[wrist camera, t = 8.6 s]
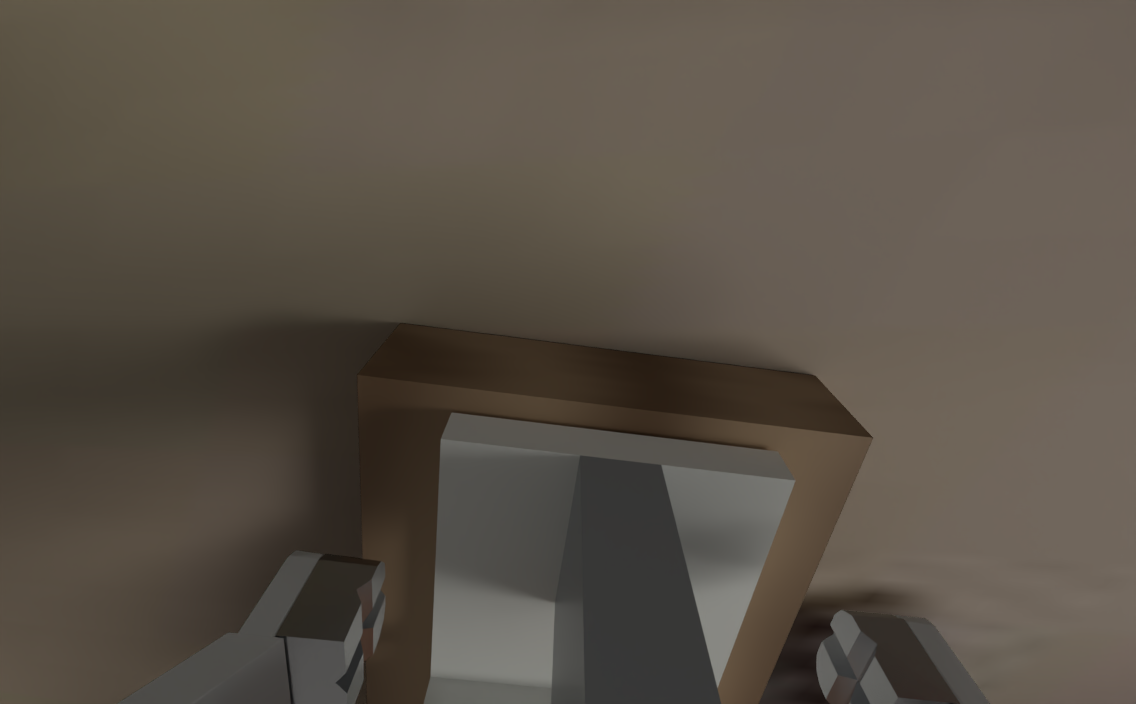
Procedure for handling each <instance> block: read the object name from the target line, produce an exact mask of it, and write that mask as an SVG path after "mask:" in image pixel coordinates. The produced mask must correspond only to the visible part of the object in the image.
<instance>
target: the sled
mask: <svg viewBox="0 0 1136 704" xmlns="http://www.w3.org/2000/svg"><path fill="white" fill-rule="evenodd" d="M795 481H796V480H795V479H794V477H793V476H792V474H791V472H790V471H789V469H788V467H787V466H786V464H785V462H784V461H783V459H782V457H781V456H780V454H779V453H778V451H769V450H761V449H753V448H744V447H736V446H728V445H719V444H711V443H703V442H694V441H686V440H677V439H669V438H661V437H652V436H644V435H636V434H627V433H619V432H611V431H602V430H594V429H586V428H577V427H569V426H561V425H552V424H544V423H536V422H527V421H519V420H510V419H502V418H494V417H485V416H477V415H469V414H460V413H451V415H450V418H449V420H448V423H447V425H446V427H445V430H444V432H443V435H442V437H441V444H440V468H439V491H438V514H437V537H436V560H435V583H434V607H433V630H432V653H431V676H430V681H429V684H428V688H427V692H426V696H425V700H424V704H721V701H720V697H719V693H718V689H717V688H718V686H719V683H720V680H721V678H722V675H723V672H724V670H725V667H726V664H727V662H728V659H729V656H730V654H731V651H732V648H733V646H734V643H735V640H736V638H737V635H738V632H739V630H740V627H741V624H742V622H743V619H744V616H745V614H746V611H747V608H748V606H749V603H750V601H751V598H752V595H753V593H754V590H755V587H756V585H757V582H758V579H759V577H760V574H761V571H762V569H763V566H764V563H765V561H766V558H767V555H768V553H769V550H770V547H771V545H772V542H773V539H774V537H775V534H776V531H777V529H778V526H779V523H780V521H781V518H782V516H783V513H784V510H785V508H786V505H787V502H788V500H789V497H790V494H791V492H792V489H793V486H794V484H795Z"/></svg>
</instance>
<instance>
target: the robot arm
mask: <svg viewBox="0 0 1136 704" xmlns="http://www.w3.org/2000/svg"><path fill="white" fill-rule="evenodd" d="M384 579H385V563H384V562H382V561H376V560H369V559H362V558H354V557H347V556H339V555H332V554H321V553H313V552H305V551H298V550H296V551H294V552H293V553H292V554H291V555H290V556H288V557H287V558H286V560H285V562H284V563H283V565H282V566H281V568H280V569H279V571H278V572H277V574H276V575H275V577H274V578H273V580H272V581H271V583H270V584H269V586H268V588H267V589H266V591H265V592H264V594H263V595H262V597H261V598H260V600H259V601H258V603H257V604H256V606H255V607H254V609H253V610H252V612H251V613H250V615H249V617H248V618H247V620H246V621H245V623H244V624H243V626H242V627H241V629H240V630H239V632H238V633H226V634H225V635H223V636H222V637H220V638H219V639H217V640H216V641H214V642H212V643H211V644H209V645H208V646H206V647H205V648H203V649H202V650H200V651H198V652H197V653H195V654H194V655H192V656H191V657H189V658H187V659H186V660H184V661H183V662H181V663H180V664H178V665H177V666H175V667H173V668H172V669H170V670H169V671H167V672H166V673H164V674H163V675H161V676H159V677H158V678H156V679H155V680H153V681H152V682H150V683H148V684H147V685H145V686H144V687H142V688H141V689H139V690H138V691H136V692H134V693H133V694H131V695H130V696H128V697H127V698H125V699H124V700H122V701H120V702H119V703H117V704H355V702H356V699H357V697H358V694H359V691H360V689H361V686H362V683H363V681H364V663H363V662H365V661H366V660H367V659H368V658H369V657H371V656H372V655H373V654H374V651H375V648H376V646H377V643H378V640H379V637H380V633H381V629H382V625H383V621H384V613H385V595H384V594H383V592H382V591H381V590H380V589H381V587H382V584H383V582H384ZM830 625H831V627H832V629H833V631H834V634H833V635H831V636H830V637H828V638H827V639H825V640H823V641H822V643H821V645H820V648H819V650H818V653H817V675H818V679H819V684H820V686H821V689H822V691H823V694H824V696H825V699H826V700H827V701H828V702H829V703H830V704H990V703H989V702H988V700H987V699H986V697H985V696H984V695H983V693H982V692H981V690H980V689H979V688H978V686H977V685H976V683H975V682H974V681H973V679H972V678H971V676H970V675H969V674H968V672H967V671H966V669H965V668H964V667H963V665H962V664H961V662H960V661H959V660H958V658H957V657H956V655H955V654H954V653H953V651H952V650H951V648H950V647H949V646H948V644H947V643H946V641H945V640H944V639H943V637H942V636H941V634H940V633H939V631H938V630H937V629H936V627H935V626H934V625H933V624H932V623H931V622H929V621H928V620H927V619H925V618H919V617H909V616H899V615H896V616H894V615H891V614H881V613H870V612H860V611H849V610H841V611H839V612H838V613H836V614H835V616H834V618H833V620H832V622H831V624H830Z"/></svg>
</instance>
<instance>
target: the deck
mask: <svg viewBox="0 0 1136 704" xmlns="http://www.w3.org/2000/svg"><path fill="white" fill-rule="evenodd" d="M357 390H358V423H359V456H360V489H361V522H362V555H363V559H369V560H376V561H382V562H384V563H385V579H384V582H383V584H382V587H381V589H380V590H381V591H382V592H383V594H384V595H385V613H384V621H383V625H382V629H381V633H380V637H379V640H378V643H377V646H376V648H375V651H374V654H373V655H372V656H371V657H369V658H368V659H367V660H366V687H367V704H424V700H425V696H426V692H427V688H428V684H429V681H430V676H431V653H432V630H433V607H434V583H435V560H436V537H437V514H438V491H439V468H440V444H441V437H442V435H443V432H444V430H445V427H446V425H447V423H448V420H449V418H450V415H451V413H460V414H469V415H477V416H485V417H494V418H502V419H510V420H519V421H527V422H536V423H544V424H552V425H561V426H569V427H577V428H586V429H594V430H602V431H611V432H619V433H627V434H636V435H644V436H652V437H661V438H669V439H677V440H686V441H694V442H703V443H711V444H719V445H728V446H736V447H744V448H753V449H761V450H769V451H778V453H779V454H780V456H781V457H782V459H783V461H784V462H785V464H786V466H787V467H788V469H789V471H790V472H791V474H792V476H793V477H794V479H795V480H796V481H795V484H794V486H793V489H792V492H791V494H790V497H789V500H788V502H787V505H786V508H785V510H784V513H783V516H782V518H781V521H780V523H779V526H778V529H777V531H776V534H775V537H774V539H773V542H772V545H771V547H770V550H769V553H768V555H767V558H766V561H765V563H764V566H763V569H762V571H761V574H760V577H759V579H758V582H757V585H756V587H755V590H754V593H753V595H752V598H751V601H750V603H749V606H748V608H747V611H746V614H745V616H744V619H743V622H742V624H741V627H740V630H739V632H738V635H737V638H736V640H735V643H734V646H733V648H732V651H731V654H730V656H729V659H728V662H727V664H726V667H725V670H724V672H723V675H722V678H721V680H720V683H719V686H718V688H717V689H718V693H719V697H720V701H721V704H759V701H760V699H761V697H762V694H763V692H764V690H765V687H766V685H767V683H768V680H769V678H770V676H771V673H772V671H773V669H774V666H775V664H776V662H777V660H778V657H779V655H780V653H781V650H782V648H783V646H784V643H785V641H786V639H787V636H788V634H789V632H790V629H791V627H792V625H793V622H794V620H795V618H796V615H797V613H798V611H799V609H800V606H801V604H802V602H803V599H804V597H805V595H806V592H807V590H808V588H809V585H810V583H811V581H812V578H813V576H814V574H815V571H816V569H817V567H818V565H819V562H820V560H821V558H822V555H823V553H824V551H825V548H826V546H827V544H828V541H829V539H830V537H831V534H832V532H833V530H834V527H835V525H836V523H837V520H838V518H839V516H840V514H841V511H842V509H843V507H844V504H845V502H846V500H847V497H848V495H849V493H850V490H851V488H852V486H853V483H854V481H855V479H856V476H857V474H858V472H859V469H860V467H861V465H862V463H863V460H864V458H865V456H866V453H867V451H868V449H869V446H870V444H871V442H872V439H873V437H872V436H871V435H870V434H869V433H868V432H867V431H866V430H865V429H864V428H863V426H862V425H861V424H860V423H859V422H858V421H857V420H856V419H855V418H854V417H853V416H852V415H851V414H850V412H849V411H848V410H847V409H846V408H845V407H844V406H843V405H842V404H841V403H840V402H839V401H838V400H837V399H836V397H835V396H834V395H833V394H832V393H831V392H830V391H829V390H828V389H827V388H826V387H825V386H824V385H823V383H822V382H821V381H820V380H819V379H818V378H817V377H816V376H813V375H806V374H798V373H790V372H782V371H774V370H766V369H758V368H750V367H742V366H735V365H727V364H719V363H711V362H703V361H695V360H687V359H679V358H671V357H664V356H656V355H648V354H640V353H632V352H624V351H616V350H608V349H600V348H592V347H585V346H577V345H569V344H561V343H553V342H545V341H537V340H529V339H521V338H514V337H506V336H498V335H490V334H482V333H474V332H466V331H458V330H450V329H443V328H435V327H427V326H419V325H411V324H403V323H400V324H399V325H398V327H397V328H396V329H395V330H394V331H393V333H392V334H391V335H390V336H389V337H388V339H387V340H386V341H385V342H384V343H383V345H382V346H381V347H380V348H379V349H378V351H377V352H376V353H375V354H374V355H373V356H372V358H371V359H370V360H369V361H368V362H367V364H366V365H365V366H364V367H363V368H362V370H361V371H360V372H359V373H358V374H357Z"/></svg>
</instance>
